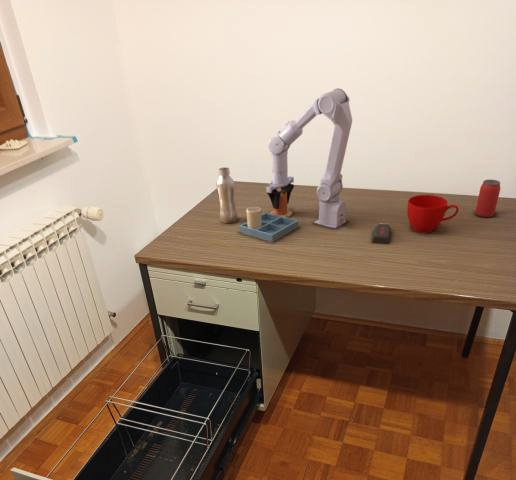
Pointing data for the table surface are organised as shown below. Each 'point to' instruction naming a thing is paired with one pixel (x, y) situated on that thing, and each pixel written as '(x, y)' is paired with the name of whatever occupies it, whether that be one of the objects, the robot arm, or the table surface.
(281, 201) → the tumbler
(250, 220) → the cream tumbler
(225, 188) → the plastic bottle
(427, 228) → the ceramic cup
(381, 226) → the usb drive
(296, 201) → the table surface
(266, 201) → the table surface
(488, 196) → the beer can
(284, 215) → the coaster
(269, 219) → the rack
